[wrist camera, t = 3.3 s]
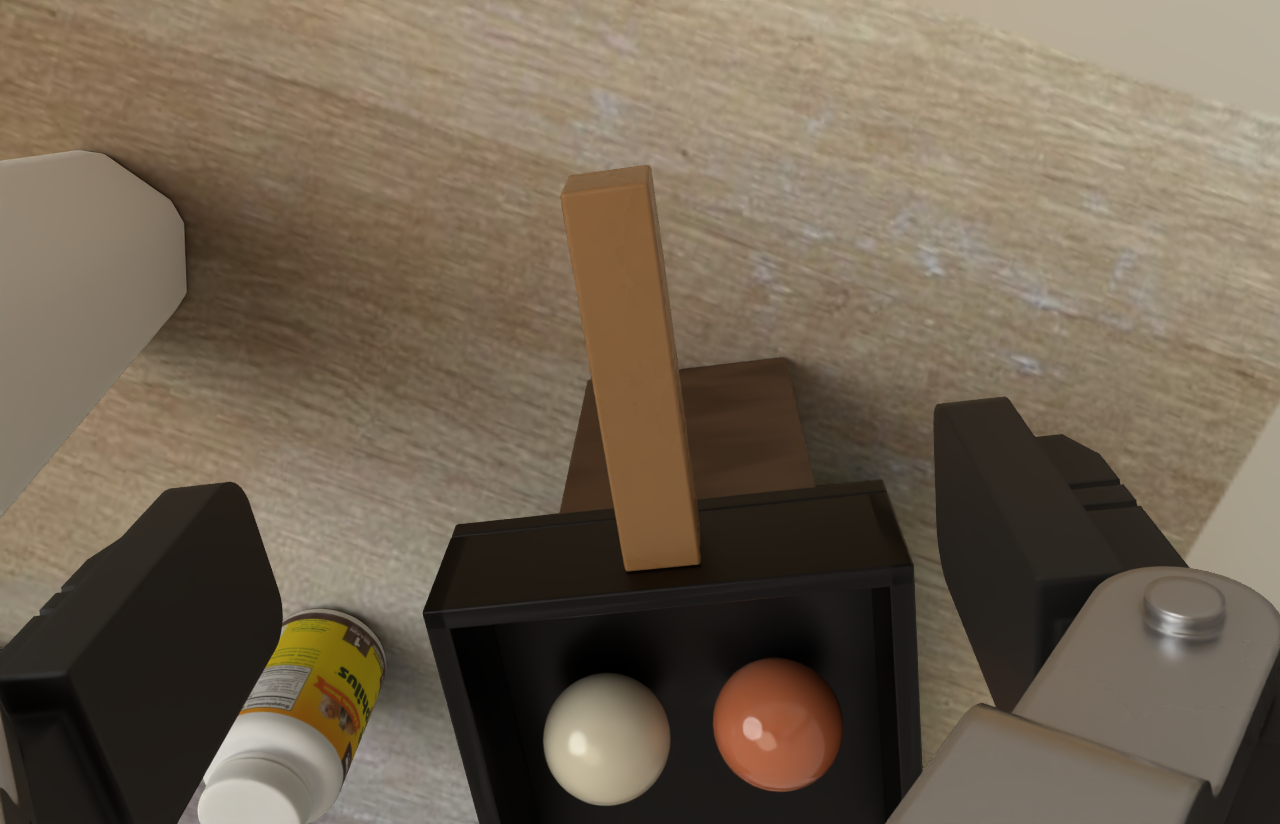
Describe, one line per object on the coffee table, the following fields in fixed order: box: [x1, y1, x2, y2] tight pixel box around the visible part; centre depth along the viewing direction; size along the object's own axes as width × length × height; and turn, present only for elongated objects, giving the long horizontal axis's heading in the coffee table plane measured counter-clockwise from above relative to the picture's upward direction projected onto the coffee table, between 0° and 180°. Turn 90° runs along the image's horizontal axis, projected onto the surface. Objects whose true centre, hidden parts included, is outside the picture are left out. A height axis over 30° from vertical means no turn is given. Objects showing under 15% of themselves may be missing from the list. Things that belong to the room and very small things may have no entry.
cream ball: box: [543, 672, 671, 806], centre depth 25 cm, size 3×3×3 cm
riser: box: [559, 358, 816, 514], centre depth 35 cm, size 8×4×18 cm, turn 98°
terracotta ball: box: [713, 657, 844, 792], centre depth 25 cm, size 3×3×3 cm
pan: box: [423, 165, 922, 824], centre depth 24 cm, size 10×19×4 cm, turn 8°
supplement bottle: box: [198, 609, 386, 824], centre depth 44 cm, size 6×6×10 cm
